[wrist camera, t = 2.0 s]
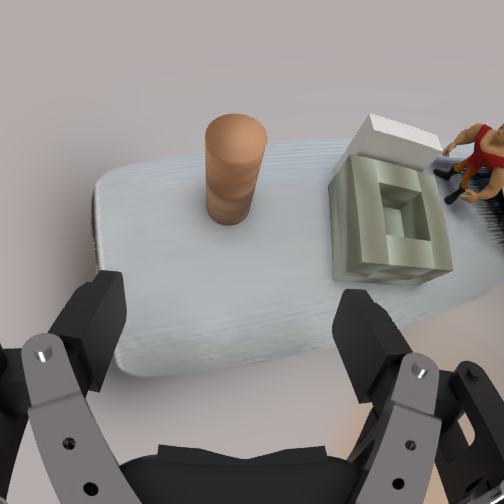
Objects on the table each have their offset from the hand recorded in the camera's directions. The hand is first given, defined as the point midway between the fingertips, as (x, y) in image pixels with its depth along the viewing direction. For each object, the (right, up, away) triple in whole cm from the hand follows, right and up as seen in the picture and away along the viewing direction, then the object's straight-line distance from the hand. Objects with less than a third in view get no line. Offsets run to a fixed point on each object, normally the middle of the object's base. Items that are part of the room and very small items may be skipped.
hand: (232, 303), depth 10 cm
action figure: (+26, +10, +23) cm, 37 cm away
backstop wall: (+14, +10, +21) cm, 26 cm away
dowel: (-1, +6, +17) cm, 18 cm away
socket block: (+13, +3, +19) cm, 23 cm away
